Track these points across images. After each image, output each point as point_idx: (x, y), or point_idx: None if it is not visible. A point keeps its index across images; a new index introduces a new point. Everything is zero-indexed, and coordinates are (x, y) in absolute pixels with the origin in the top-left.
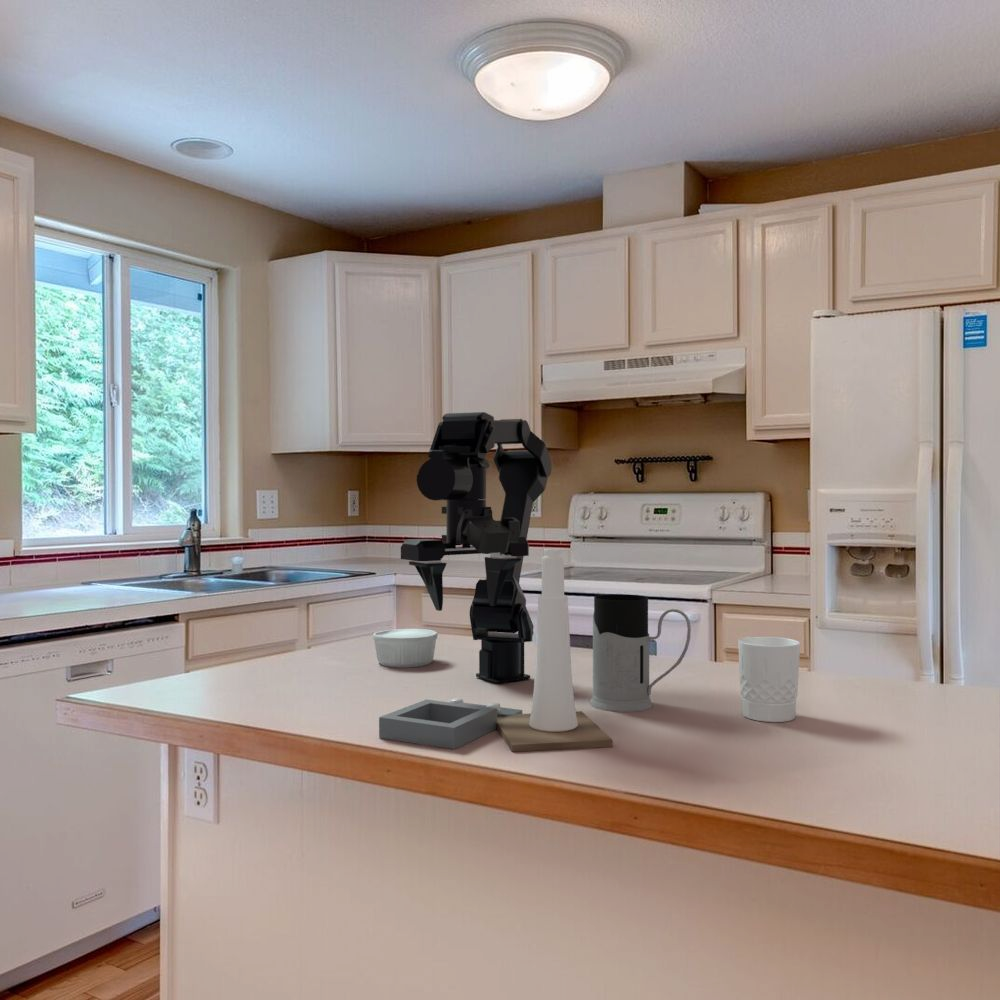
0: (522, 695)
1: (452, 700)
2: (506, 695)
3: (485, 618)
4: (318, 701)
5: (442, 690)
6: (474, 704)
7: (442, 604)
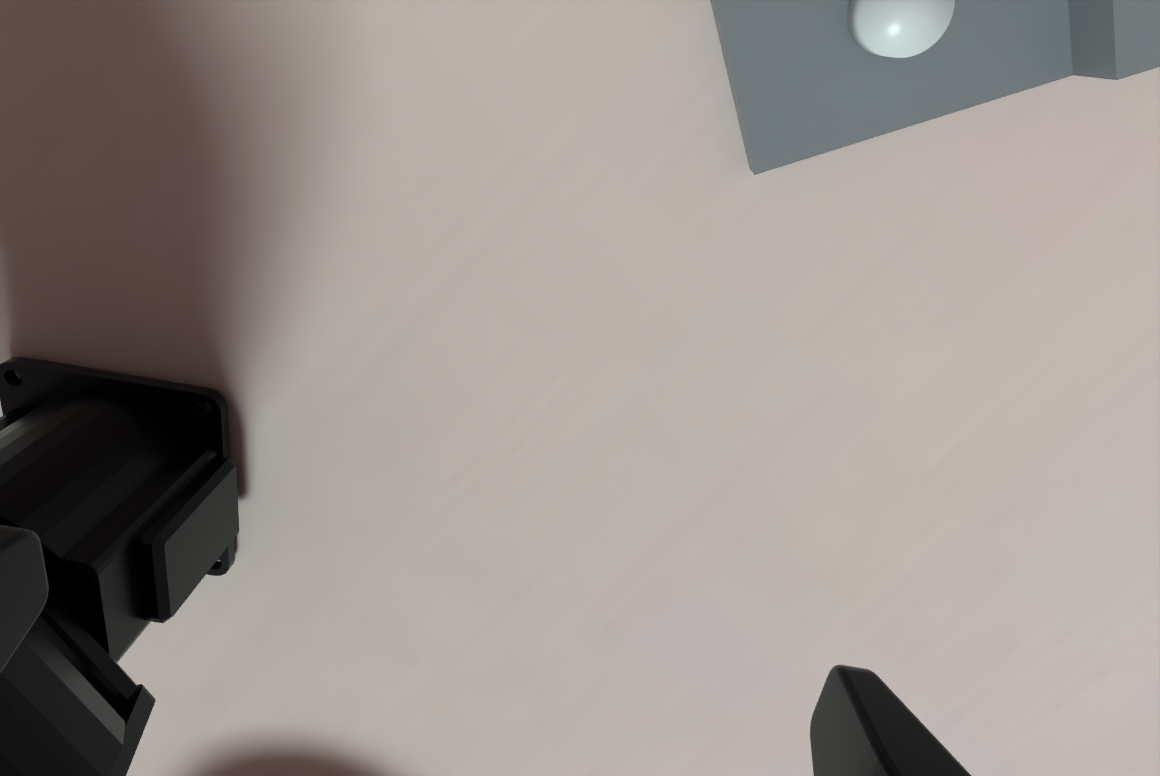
0: (263, 105)
1: (938, 14)
2: (338, 173)
3: (36, 709)
4: (1065, 682)
5: (529, 484)
6: (730, 18)
7: (863, 712)
